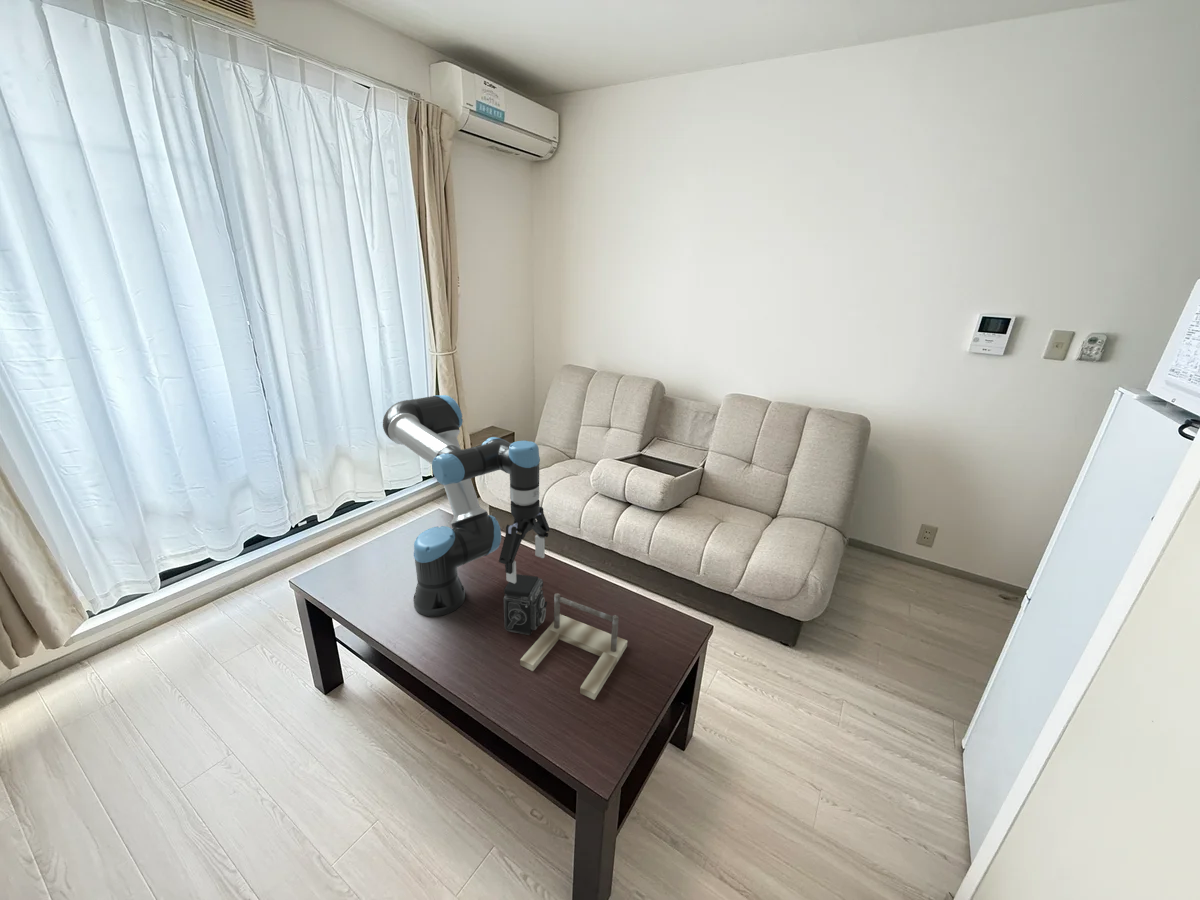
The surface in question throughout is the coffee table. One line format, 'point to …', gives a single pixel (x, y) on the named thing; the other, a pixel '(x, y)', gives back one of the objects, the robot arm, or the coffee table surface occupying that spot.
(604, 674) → the wooden rack
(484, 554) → the robot arm
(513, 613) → the camera
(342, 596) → the coffee table surface
